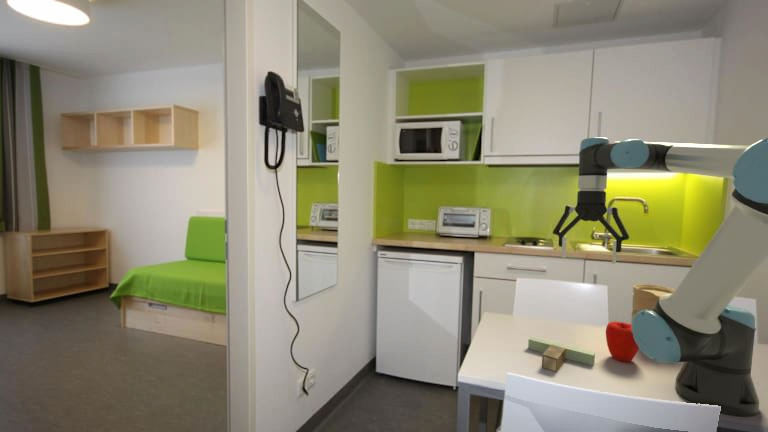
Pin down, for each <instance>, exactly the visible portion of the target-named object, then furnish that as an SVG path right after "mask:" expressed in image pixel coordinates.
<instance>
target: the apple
mask: <svg viewBox="0 0 768 432" xmlns="http://www.w3.org/2000/svg"><path fill="white" fill-rule="evenodd" d="M605 337H606V338H605V340H606V345H607V349H608V352H609V353H610V355H611V357H612V358H613V359H615V360H617V361H620V362H623V363H624V362H626V363H627V362H628V363H629V362H632V361H633V359H634V358H635V356H636V355H637V353H638V351H639V350H640V348H639V347H638V345H637V344H636V342H635V340H634V336H633V333H632V327H631V323H627V322H621V321H611V322H608V324H606V328H605Z"/></svg>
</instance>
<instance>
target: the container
mask: <svg viewBox="0 0 768 432" xmlns="http://www.w3.org/2000/svg"><path fill="white" fill-rule="evenodd" d="M676 289H677V288H672V287H669V286H663V285H656V284H649V283H648V284H647V283H642V284H641V283H638V284H634V285H633V291H632V293H633V295H632V303H631V304H632V311H631V319H630V320H631V321H630V322H631V323H630V324H631V325H632V319H633V317H634V315H635V314H636V313H638V312H640V311H642V310H651V309H652V308H653V307H654V306H655V304H656V303H657V301H658V300H659V298H660V297H661V296H662V295H664V294H667V293H674V291H675V290H676Z"/></svg>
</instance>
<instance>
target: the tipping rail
mask: <svg viewBox="0 0 768 432" xmlns="http://www.w3.org/2000/svg"><path fill="white" fill-rule="evenodd" d="M550 345H555V346H559V347H563V348H566V353H565V360H566V359H567V360H569V361H570V360H571V361H574V362H577V363H582V364H585V365H589V366H594V365H595V358H596V352H594V351H590V350H585V349H581V348H579V347H577V348H576V347H574V346H570V345H564V344H560V343H557V342H553V341H548V340H545V339H541V338H535V337H532V336H530V337H529V338H528V344H527V346H528V347H527V348H528V350H532V351H536V352H538V353H542V354H543V353H544V352H545V351H546V350H547V349H548V348H549V347H550Z"/></svg>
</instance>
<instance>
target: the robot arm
mask: <svg viewBox="0 0 768 432" xmlns="http://www.w3.org/2000/svg"><path fill="white" fill-rule="evenodd" d="M578 156H579V159H578V160H579V161H578V179H577V189H578V191H577V198H576V199H577V200H576V206H571V205H565V207H564V212H563V214H562V216H561V217H560V219H559V221H558V222H557V224H556V226H555V227H554V229H553V231H552V234H553V235H556V236H558V247H561V259H565V258H566V257H567V242H568V240H567V239H568V236H565V235H566V234H568V232H569V231H570V230H572V229H573V228H574V227H575V226H576V225H577V224H578V223H580V221H581V220H582V221H583V222H588V221H590V222H598V221H599V223H601V225H603V227H604V228H605V229H606V230H607V231H608V232H609V234H611V236H612V237H613V238H614V239H615V240H613V241H612V255H611V257H612V259H611V264H614V265H616V263H617V253H621V252H622V244H623V243H622V242H623V241H627V240H629V239H630V235H629V233H628V231H627V229H626V228H625V225H624V223H623V221H622V219H621V218H620V216H619V209H618V207H616V206H614V207H607V205H606V201H607V192H606V189H607V185H608V184H607V182H608V181H607V180H608V171H609V170H649V171H650V170H651V171H661V172H662V171H663V172H674V173H682V174H692V175H699V176H707V177H717V178H724V179H725V178H726V179H733V180H732V183H733V186H734V189H733V191H732V192H731V193H730V196H731V197H730V198H732V201H733V203H734V206H733V208H732V209H731V210H730V212H729V214H728V215H726V217H725V219H724V220H723V221H722V223H721V225H720V226H719V228H718V229H717V230H716V232H715V233H714V235H713V236H712V238H711V239H710V240H709V242H708V243H707V245H706V246H705V247H704V249H703V250H702V252H701V253H700V254H699V256H698V257H697V259H696V260H695V262H694V263H693V264H692V265H691V267H690V268H689V270H688V271H687V273H686V274H685V275H684V277H683V278H682V280H681V282H680V283H679V284H678V286H677V288H675V289H676V290H675V291H674V293H667V294H664V295H662V296H661V297H660V298H659V300H658V301H657V303H656V304H655V306H654V307H653V308H652V309H651V310H642V311H640V312H638V313H636V314H635V315H634V317H633V319H632V318H631V319H632V325H631V327H632V333H633V336H634V340H635V342H636V344H637V345H638V347H639V350H640V351H641V352H642V353H643V354H644V355H645V356H646V357H647V358H649V359H651V361H653V362H658V363H662V364H663V363H664V364H666V363H668V364H676V363H683V364H682V366H681V368H680V370H679V372H678V373H677V374H676V377H675V381H674V382H675V385H674V388H675V390H676V391H677V393H678V394H679V395H681V396H682V397H683V398H685V399H687V400H688V401H690V402H692V403H694V404H696V403H700V404H709V405H718V406H721V412H720V413H723V414H727V415H732V416H738V417H739V416H740V417H751V416H755V415H757V414H759V410H760V399H759V396H758V394H757V390H756V387H755V384H754V382H753V379H752V365H753V354H754V346H755V333H756V331H757V328H756V318H755V315H754V314H753V313H752V312H750V311H749V310H747V309H745V308H744V309H743V308H741V307H737V306H733V305H730V304H731V302H732V301H733V300H734V299H735V297H736V296H738V294H739V293H740V291H741V290H742V289H743V288H744V287H745V285H746V284H747V283H748V282H749V281H750V279H752V277H753V276H754V274H755V273H756V272H757V271H758V270H759V268H761V266H762V265H763V264H764V263H765V262H766V261H767V259H768V137H766V138H763V139H761V140H758V141H756V142H755V143H753V144H751V145H736V144H735V145H732V144H731V145H730V144H710V143H709V144H706V143H705V144H704V143H702V144H701V143H677V142H648V141H643V140H642V139H637V138H635V139H634V138H633V139H623V140H619V141H611V142H610V140H609V138H607V137H598V136H597V137H588V138H584V139H582V140H581V141H580V147H579V152H578ZM574 211H575V212H576V214H577V216H576V217H574V219H573V220H572V221H571V222H570V223H568V225H566V227H564V228H563V229H562V227H563V225H564V224H565V223H566V221H567V219H568V218H569V216H570V214H572V213H573V212H574ZM606 213H609V215H611V216H612V218H613V219H614V222H615V224H616V225H617V228H618V229H619V232H620V234H621V235H620V234H619V233H618V232H617V230H616V229H615V228H614V227H613V226H612V225H611V224H610V223H609V222H608V220H607V218H605V217H604V215H605V214H606ZM561 229H562V230H561Z"/></svg>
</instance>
